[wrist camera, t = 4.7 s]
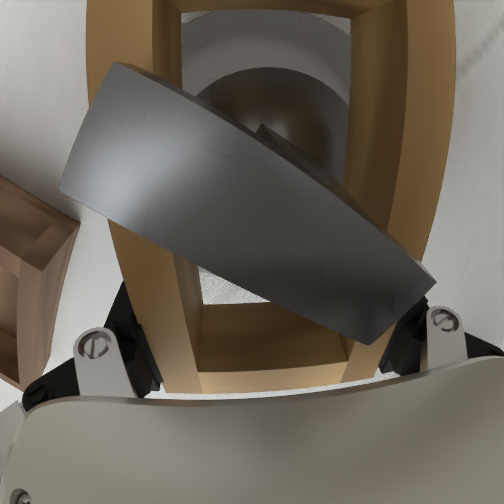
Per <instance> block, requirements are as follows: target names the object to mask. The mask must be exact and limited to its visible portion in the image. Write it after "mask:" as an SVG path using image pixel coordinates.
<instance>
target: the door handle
mask: <svg viewBox="0 0 504 504" xmlns="http://www.w3.org/2000/svg"><path fill="white" fill-rule="evenodd" d="M181 56H182V88H183V89H181V88H179V87H177V86H175V85H173V84H171V83H170V82H168V81H166V80H164V79H162V78H160V77H158V76H156V75H154V74H152V73H150V72H148V71H146V70H144V69H142V68H140V67H138V66H136V65H134V64H129V63H122V62H115V61H113V63H112V65H111V66H110V68H109V70H108V72H107V74H106V75H105V77H104V79H103V81H102V83H101V85H100V87H99V89H98V91H97V93H96V95H95V97H94V99H93V101H92V103H91V105H90V107H89V110H88V112H87V114H86V116H85V118H84V121H83V123H82V125H81V128H80V130H79V132H78V135H77V137H76V140H75V142H74V145H73V147H72V150H71V153H70V155H69V158H68V161H67V164H66V167H65V170H64V173H63V176H62V179H61V182H60V185H59V188H58V190H59V191H60V192H62V193H64V194H66V195H67V196H69V197H71V198H73V199H74V200H76V201H78V202H80V203H81V204H83V205H85V206H87V207H88V208H90V209H92V210H94V211H96V212H97V213H99V214H101V215H103V216H105V217H106V218H108V219H110V220H112V221H114V222H116V223H117V224H119V225H121V226H123V227H125V228H127V229H128V230H130V231H132V232H134V233H136V234H138V235H140V236H142V237H143V238H145V239H147V240H149V241H151V242H153V243H155V244H157V245H159V246H160V247H162V248H164V249H166V250H168V251H170V252H172V253H174V254H176V255H178V256H180V257H182V258H184V259H186V260H187V261H189V262H191V263H193V264H195V265H197V266H198V270H200V271H203V272H206V273H209V274H213V275H216V276H219V277H221V278H223V279H225V280H227V281H229V282H231V283H233V284H235V285H237V286H239V287H241V288H244V289H246V290H248V291H250V292H252V293H254V294H256V295H258V296H260V297H262V298H264V299H266V300H268V301H270V302H273V303H275V304H277V305H279V306H281V307H283V308H285V309H287V310H290V311H292V312H294V313H296V314H298V315H300V316H302V317H305V318H307V319H309V320H311V321H313V322H315V323H318V324H320V325H322V326H324V327H326V328H329V329H331V330H333V331H335V332H337V333H340V334H342V335H344V336H346V337H349V338H351V339H353V340H355V341H358V342H360V343H362V344H365V345H367V346H370V345H371V344H372V343H373V342H375V341H376V340H377V339H378V338H379V337H380V336H381V335H383V334H384V333H385V332H386V331H387V330H388V329H389V328H390V327H392V326H393V325H394V324H395V323H396V322H397V321H398V320H399V319H400V318H401V317H402V316H403V315H404V314H405V313H407V312H408V311H409V310H410V309H411V308H412V307H413V306H414V305H415V304H416V303H417V302H418V301H419V300H420V299H421V298H422V297H423V296H424V295H425V294H426V293H427V292H428V291H429V290H430V289H431V288H432V287H433V285H434V284H435V283H436V281H435V279H434V278H433V277H432V276H431V274H430V273H429V272H428V271H427V269H426V268H425V267H424V266H423V265H422V263H421V262H420V261H419V260H418V259H417V258H416V257H415V256H414V255H413V254H412V253H411V252H409V251H408V250H407V249H406V248H405V247H404V246H403V245H402V244H401V243H399V242H398V241H397V240H396V239H395V238H394V237H393V236H391V235H390V234H389V233H388V232H387V231H386V230H385V229H383V228H382V227H381V226H380V225H379V224H377V223H376V222H375V221H374V220H373V219H372V218H370V216H369V215H368V214H367V213H366V212H365V211H364V210H363V209H362V208H361V207H360V205H359V204H358V203H357V202H356V201H355V200H354V199H353V198H352V197H351V196H350V195H349V194H348V193H347V192H346V190H345V189H344V188H343V187H342V186H343V177H344V167H345V156H346V145H347V132H348V117H349V99H350V72H351V38H350V37H349V36H348V35H346V34H345V33H344V32H342V31H341V30H339V29H338V28H337V27H335V26H333V25H331V24H329V23H327V22H325V21H323V20H321V19H320V18H317V17H315V16H312V15H309V14H306V13H303V12H299V11H287V10H269V9H226V10H220V11H216V12H212V13H209V14H207V15H204V16H202V17H199V18H197V19H194V20H192V21H190V22H188V23H187V24H185V25H183V26H182V27H181Z"/></svg>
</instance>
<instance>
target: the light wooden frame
mask: <svg viewBox="0 0 504 504" xmlns="http://www.w3.org/2000/svg"><path fill="white" fill-rule="evenodd" d="M226 9H269V10H287V11H299V12H309V13H317V14H325V15H331V16H338V17H343V18H349V19H351V72H350V99H349V117H348V132H347V145H346V156H345V167H344V177H343V186H342V187H343V188H344V189H345V190H346V192H347V193H348V194H349V195H350V196H351V197H352V198H353V199H354V200H355V201H356V202H357V203H358V204H359V205H360V207H361V208H362V209H363V210H364V211H365V212H366V213H367V214H368V215H369V216H370V218H372V219H373V220H374V221H375V222H376V223H377V224H379V225H380V226H381V227H382V228H383V229H385V230H386V231H387V232H388V233H389V234H390V235H391V236H393V237H394V238H395V239H396V240H397V241H398V242H399V243H401V244H402V245H403V246H404V247H405V248H406V249H407V250H408V251H409V252H411V253H412V254H413V255H414V256H415V257H416V258H417V259H418V260H419V261H420V262H421V261H422V258H423V254H424V251H425V248H426V245H427V241H428V238H429V234H430V231H431V227H432V224H433V220H434V216H435V212H436V208H437V204H438V200H439V195H440V191H441V186H442V181H443V176H444V171H445V166H446V160H447V154H448V148H449V141H450V134H451V126H452V117H453V107H454V94H455V74H456V35H455V17H454V5H453V0H87V12H86V70H87V87H88V100H89V107H90V105H91V103H92V101H93V99H94V97H95V95H96V93H97V91H98V89H99V87H100V85H101V83H102V81H103V79H104V77H105V75H106V74H107V72H108V70H109V68H110V66H111V65H112V63H113V61H115V62H122V63H129V64H134V65H136V66H138V67H140V68H142V69H144V70H146V71H148V72H150V73H152V74H154V75H156V76H158V77H160V78H162V79H164V80H166V81H168V82H170V83H171V84H173V85H175V86H177V87H179V88H181V89H183V88H182V56H181V13H186V12H196V11H208V10H226ZM107 219H108V218H107ZM108 224H109V228H110V232H111V236H112V240H113V244H114V247H115V251H116V255H117V259H118V262H119V266H120V269H121V272H122V276H123V279H124V282H125V286H126V289H127V292H128V295H129V298H130V301H131V304H132V307H133V310H134V313H135V316H136V319H137V322H138V324H141V326H142V328H143V331H144V334H145V336H146V339H147V342H148V344H149V347H150V350H151V352H152V355H153V357H154V360H155V362H156V365H157V367H158V369H159V372H160V374H161V377H162V379H163V381H164V383H162V385H163V387H164V389H165V391H166V393H196V394H215V393H248V392H265V391H279V390H290V389H300V388H309V387H317V386H324V385H331V384H338V383H345V382H351V381H357V380H362V379H367V378H373V376H374V374H375V372H376V370H377V368H378V364H379V362H380V359H381V357H382V355H383V353H384V351H385V349H386V346H387V344H388V342H389V340H390V337H391V335H392V333H393V330H394V328H395V326H396V323H397V322H396V323H395V324H394V325H393V326H392V327H390V328H389V329H388V330H387V331H386V332H385V333H384V334H383V335H381V336H380V337H379V338H378V339H377V340H376V341H375V342H373V343H372V344H371V345H370V346H367V345H365V344H362V343H360V342H358V341H355V340H353V339H351V338H349V337H346V336H344V335H342V334H340V333H337V332H335V331H333V330H331V329H329V328H326V327H324V326H322V325H320V324H318V323H315V322H313V321H311V320H309V319H307V318H305V317H302V316H300V315H298V314H296V313H294V312H292V311H290V310H287V309H285V308H283V307H281V306H279V305H277V304H275V303H273V302H263V303H242V304H213V305H203V299H202V292H201V285H200V278H199V270H198V266H197V265H195V264H193V263H191V262H189V261H187V260H186V259H184V258H182V257H180V256H178V255H176V254H174V253H172V252H170V251H168V250H166V249H164V248H162V247H160V246H159V245H157V244H155V243H153V242H151V241H149V240H147V239H145V238H143V237H142V236H140V235H138V234H136V233H134V232H132V231H130V230H128V229H127V228H125V227H123V226H121V225H119V224H117V223H116V222H114V221H112V220H110V219H108Z"/></svg>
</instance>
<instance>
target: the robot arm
mask: <svg viewBox="0 0 504 504" xmlns="http://www.w3.org/2000/svg"><path fill="white" fill-rule="evenodd" d="M427 302H428V300H427V299H426V297H425V296H423V297H422V298H421V299H420V300H419V301H418V302H417V303H416V304H415V305H414V306H413V307H412V308H411V309H410V310H409V311H408V312H407V313H405V314H404V315H403V316H402V317H401V318H400V319H399V320H398V321H397V323H396V326H395V328H394V330H393V333H392V335H391V337H390V340H389V342H388V344H387V346H386V349H385V351H384V353H383V355H382V357H381V359H380V362H379V364H378V366H379V369H380V371H381V374H383V373H387V372H392V371H394V372H395V373H397V374H396V378H392V379H388V380H383V381H378V382H374V383H369V384H363V385H358V386H352V387H347V388H341V389H334V390H328V391H321V392H313V393H305V394H296V395H287V396H276V397H263V398H248V399H224V400H176V399H147V398H146V397H145V396H146V395H147V394H149V393H150V391H159V390H160V383H164V381H163V379H162V377H161V374H160V372H159V369H158V367H157V365H156V362H155V360H154V357H153V355H152V352H151V350H150V347H149V344H148V342H147V339H146V336H145V334H144V331H143V328H142V326H141V324H138V322H137V319H136V316H135V313H134V310H133V307H132V304H131V301H130V298H129V295H128V292H127V289H126V286H125V282H124V281H123V282H122V284H121V286H120V289H119V291H118V293H117V296H116V298H115V300H114V303H113V305H112V307H111V310H110V312H109V315H108V317H107V320H106V322H105V325H104V327H103V328H102V327H97V328H92V329H89V330H87V331H85V332H84V333H82V334H81V335H80V336H79V337H78V338H77V340H76V341H75V344H74V348H73V353H74V357H73V358H71V359H69V360H68V361H66V362H64V363H63V364H61V365H60V366H58V367H56V368H55V369H53V370H51V371H50V372H48V373H46V374H45V375H43V376H41V377H40V378H38V379H37V380H35V381H33V382H32V383H31V384H29V385H28V387H27V388H26V389H25V391H24V394H23V397H22V402H21V403H19V402H18V401H15V402H14V403H13V404H11V405H10V406H9V407H7V408H6V409H4V410H3V411H2V412H0V504H504V352H503V351H502V350H501V349H500V348H498V347H496V346H494V345H492V344H490V343H488V342H486V341H483V340H481V339H479V338H477V337H475V336H473V335H470V334H468V333H466V332H464V328H463V323H462V320H461V318H460V317H459V315H458V314H457V313H456V312H455V311H453V310H451V309H450V308H447V307H444V306H433V307H431V308H429V306H428V305H427Z"/></svg>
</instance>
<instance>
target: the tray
mask: <svg viewBox="0 0 504 504" xmlns="http://www.w3.org/2000/svg"><path fill="white" fill-rule="evenodd" d="M79 227H80V223H78V222H77V221H75V220H73V219H71V218H70V217H68V216H66V215H64V214H63V213H61V212H59V211H58V210H56V209H54V208H53V207H51V206H49V205H47V204H46V203H44V202H42V201H41V200H39V199H37V198H36V197H34V196H32V195H31V194H29V193H28V192H26V191H24V190H23V189H21V188H19V187H18V186H16V185H15V184H13V183H11V182H10V181H8V180H7V179H5V178H4V177H2V176H0V378H1V379H3V380H4V381H6V382H7V383H9V384H11V385H12V386H14V387H16V388H17V389H19V390H21V391H22V392H24V391H25V389H26V388H27V387H28V385H29V384H31V383H32V382H33V381H35V380H37V379H38V378H40V377H41V376H42V374H43V372H44V369H45V367H46V364H47V362H48V360H49V357H50V350H51V344H52V337H53V331H54V325H55V320H56V315H57V310H58V305H59V300H60V296H61V291H62V287H63V283H64V279H65V275H66V271H67V267H68V263H69V260H70V256H71V253H72V249H73V246H74V243H75V239H76V236H77V233H78V230H79Z"/></svg>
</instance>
